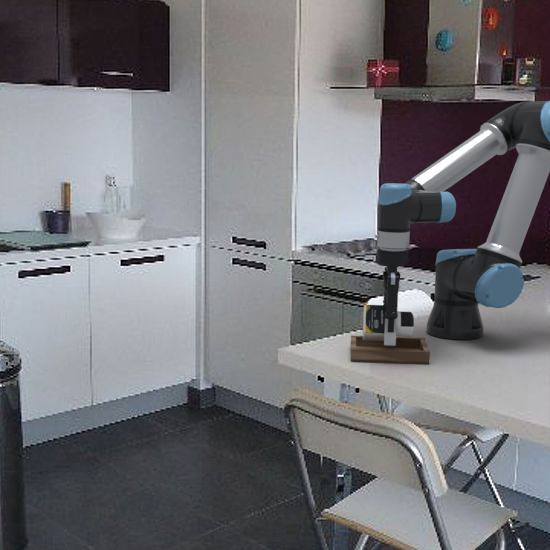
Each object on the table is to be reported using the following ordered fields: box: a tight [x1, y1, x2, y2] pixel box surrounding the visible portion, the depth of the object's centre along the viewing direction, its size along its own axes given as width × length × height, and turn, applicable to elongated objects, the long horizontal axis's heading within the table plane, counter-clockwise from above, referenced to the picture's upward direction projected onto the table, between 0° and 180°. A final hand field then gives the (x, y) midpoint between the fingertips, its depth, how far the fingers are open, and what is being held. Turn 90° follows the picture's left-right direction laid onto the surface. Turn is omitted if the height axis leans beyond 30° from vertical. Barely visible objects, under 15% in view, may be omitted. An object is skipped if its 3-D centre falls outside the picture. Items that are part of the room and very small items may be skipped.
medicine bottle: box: [362, 304, 415, 341], centre depth 205 cm, size 7×7×12 cm
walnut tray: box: [350, 335, 431, 365], centre depth 206 cm, size 13×18×3 cm
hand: (388, 339), depth 206 cm, fingers closed on medicine bottle, 9 cm apart
